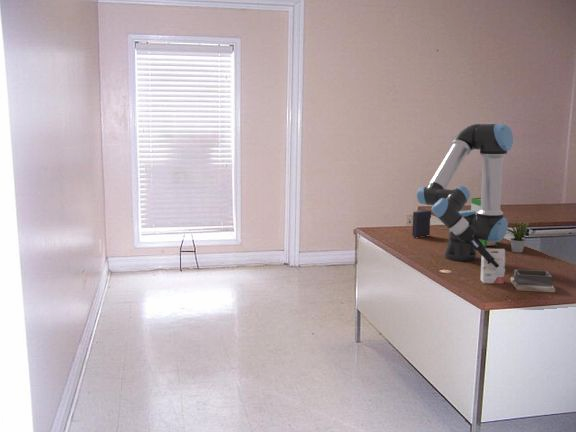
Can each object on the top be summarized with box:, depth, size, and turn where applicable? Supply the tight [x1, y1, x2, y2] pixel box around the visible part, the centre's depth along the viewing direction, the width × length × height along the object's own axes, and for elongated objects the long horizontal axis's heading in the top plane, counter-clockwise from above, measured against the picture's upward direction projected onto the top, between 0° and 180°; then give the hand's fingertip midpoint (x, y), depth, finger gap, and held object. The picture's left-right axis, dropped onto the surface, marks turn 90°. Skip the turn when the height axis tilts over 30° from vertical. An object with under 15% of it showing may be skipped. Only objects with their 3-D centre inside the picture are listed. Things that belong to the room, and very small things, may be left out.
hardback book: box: [470, 197, 499, 248], centre depth 294 cm, size 18×7×24 cm, turn 8°
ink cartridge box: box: [480, 248, 506, 285], centre depth 224 cm, size 9×5×15 cm, turn 83°
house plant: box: [505, 220, 531, 253], centre depth 277 cm, size 14×14×16 cm
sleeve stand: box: [510, 268, 556, 293], centre depth 219 cm, size 14×14×6 cm
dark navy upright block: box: [411, 209, 432, 238], centre depth 313 cm, size 11×4×15 cm, turn 122°
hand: (501, 269), depth 224 cm, fingers open, 7 cm apart
